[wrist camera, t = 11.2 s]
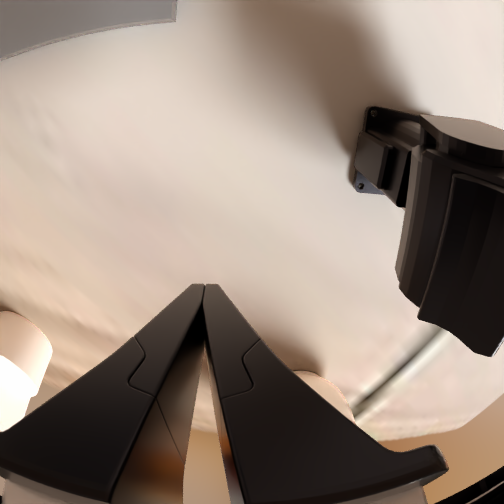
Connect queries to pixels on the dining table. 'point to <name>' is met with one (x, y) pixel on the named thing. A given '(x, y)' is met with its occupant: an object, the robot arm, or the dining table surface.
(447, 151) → the robot arm
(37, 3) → the slate board
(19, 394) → the cream cylindrical piece
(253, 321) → the dining table surface
